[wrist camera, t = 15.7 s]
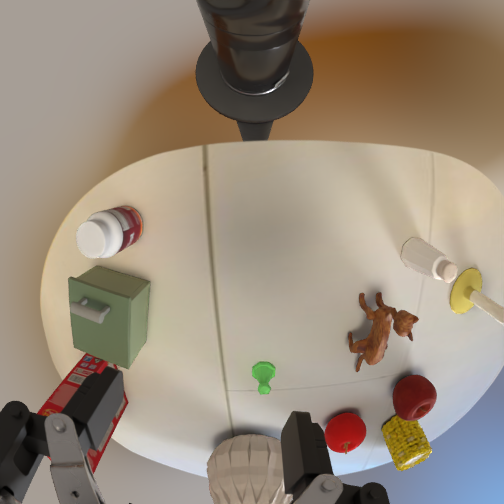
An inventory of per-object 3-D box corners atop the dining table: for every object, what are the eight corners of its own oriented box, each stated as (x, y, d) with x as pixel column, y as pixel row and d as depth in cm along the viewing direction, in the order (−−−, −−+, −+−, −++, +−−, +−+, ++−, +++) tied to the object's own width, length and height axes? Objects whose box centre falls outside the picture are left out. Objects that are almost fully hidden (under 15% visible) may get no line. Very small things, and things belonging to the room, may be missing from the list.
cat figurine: (370, 366, 45) (396, 414, 32) (338, 369, 45) (359, 422, 32) (389, 279, 41) (433, 316, 28) (354, 280, 41) (390, 321, 28)
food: (409, 400, 51) (406, 420, 54) (371, 426, 49) (371, 443, 52) (445, 435, 36) (437, 452, 39) (404, 467, 35) (399, 480, 38)
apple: (383, 403, 48) (398, 433, 39) (387, 374, 46) (405, 406, 36) (419, 389, 48) (436, 417, 38) (425, 359, 45) (447, 387, 36)
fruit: (332, 404, 48) (343, 439, 38) (367, 407, 49) (380, 439, 39) (314, 430, 50) (320, 463, 41) (347, 432, 51) (356, 463, 41)
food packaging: (91, 347, 45) (25, 428, 21) (112, 351, 45) (49, 441, 21) (108, 397, 49) (64, 476, 25) (128, 402, 49) (87, 486, 25)
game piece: (279, 365, 45) (282, 387, 39) (269, 381, 46) (270, 403, 40) (257, 358, 45) (257, 380, 39) (247, 375, 46) (246, 397, 40)
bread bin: (96, 265, 41) (71, 281, 33) (150, 281, 41) (131, 301, 34) (96, 323, 44) (76, 344, 36) (146, 341, 44) (130, 366, 37)
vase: (297, 418, 49) (313, 542, 20) (293, 461, 54) (302, 555, 25) (203, 420, 50) (181, 540, 21) (216, 463, 55) (205, 556, 26)
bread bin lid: (71, 276, 33) (53, 286, 29) (131, 296, 34) (117, 310, 29) (76, 345, 36) (63, 358, 32) (130, 366, 37) (120, 383, 33)
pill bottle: (124, 251, 40) (88, 274, 30) (104, 220, 39) (63, 234, 28) (151, 230, 39) (118, 247, 29) (130, 197, 38) (92, 204, 27)
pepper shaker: (430, 246, 39) (469, 264, 29) (415, 273, 40) (451, 297, 30) (410, 230, 39) (450, 246, 28) (394, 259, 40) (430, 282, 29)
